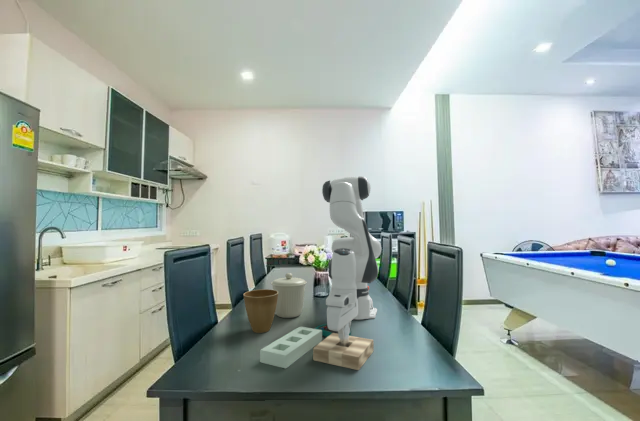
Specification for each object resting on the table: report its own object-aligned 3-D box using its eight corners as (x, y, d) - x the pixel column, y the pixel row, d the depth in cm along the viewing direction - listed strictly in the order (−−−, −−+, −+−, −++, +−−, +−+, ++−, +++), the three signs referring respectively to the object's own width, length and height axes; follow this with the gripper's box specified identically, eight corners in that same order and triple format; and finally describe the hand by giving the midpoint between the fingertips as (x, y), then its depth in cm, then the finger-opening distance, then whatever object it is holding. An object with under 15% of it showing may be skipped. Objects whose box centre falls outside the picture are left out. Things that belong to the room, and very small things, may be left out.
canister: (313, 313, 155) (313, 272, 156) (292, 323, 140) (292, 277, 141) (286, 308, 165) (286, 269, 166) (263, 316, 149) (263, 273, 151)
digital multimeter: (325, 329, 132) (325, 322, 133) (351, 338, 122) (351, 330, 122) (313, 333, 127) (313, 326, 127) (340, 343, 117) (339, 335, 117)
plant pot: (259, 322, 140) (259, 287, 141) (285, 328, 133) (285, 291, 134) (235, 332, 128) (235, 294, 128) (262, 339, 120) (262, 298, 121)
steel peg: (341, 353, 107) (341, 318, 107) (350, 354, 105) (350, 319, 106) (338, 356, 104) (338, 320, 104) (347, 358, 102) (346, 322, 103)
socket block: (332, 343, 115) (332, 332, 115) (373, 351, 108) (373, 339, 108) (313, 360, 101) (313, 348, 101) (358, 370, 94) (358, 357, 94)
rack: (300, 336, 123) (300, 326, 123) (322, 340, 118) (322, 330, 118) (260, 362, 99) (260, 349, 100) (285, 368, 95) (285, 355, 95)
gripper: (346, 289, 116) (346, 325, 115) (323, 301, 98) (323, 344, 97) (362, 290, 113) (362, 328, 113) (341, 303, 95) (341, 348, 94)
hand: (344, 336), depth 105 cm, fingers closed on steel peg, 3 cm apart
